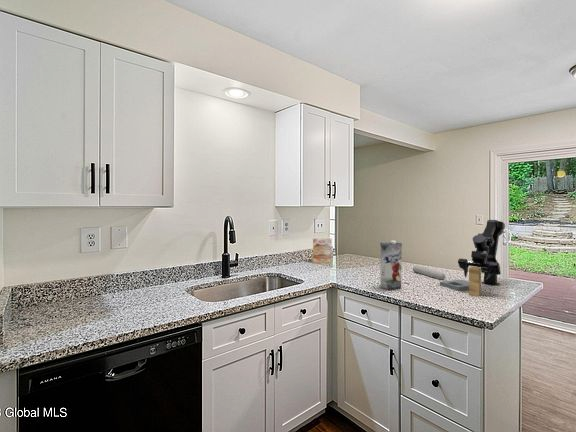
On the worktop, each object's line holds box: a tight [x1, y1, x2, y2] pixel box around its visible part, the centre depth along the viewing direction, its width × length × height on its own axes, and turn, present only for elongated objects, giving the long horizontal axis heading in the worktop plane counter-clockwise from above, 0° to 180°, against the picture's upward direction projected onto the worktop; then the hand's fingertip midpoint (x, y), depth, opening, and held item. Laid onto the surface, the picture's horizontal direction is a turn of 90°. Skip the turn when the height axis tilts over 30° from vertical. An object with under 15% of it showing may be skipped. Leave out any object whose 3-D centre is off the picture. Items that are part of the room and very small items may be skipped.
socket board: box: [439, 279, 469, 292], centre depth 175 cm, size 16×13×2 cm
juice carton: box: [379, 240, 403, 291], centre depth 173 cm, size 9×10×27 cm
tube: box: [412, 264, 446, 281], centre depth 202 cm, size 5×5×25 cm
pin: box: [468, 266, 482, 297], centre depth 159 cm, size 4×4×14 cm
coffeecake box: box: [312, 237, 333, 264], centre depth 254 cm, size 15×7×20 cm, turn 81°
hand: (475, 278), depth 159 cm, fingers open, 9 cm apart
